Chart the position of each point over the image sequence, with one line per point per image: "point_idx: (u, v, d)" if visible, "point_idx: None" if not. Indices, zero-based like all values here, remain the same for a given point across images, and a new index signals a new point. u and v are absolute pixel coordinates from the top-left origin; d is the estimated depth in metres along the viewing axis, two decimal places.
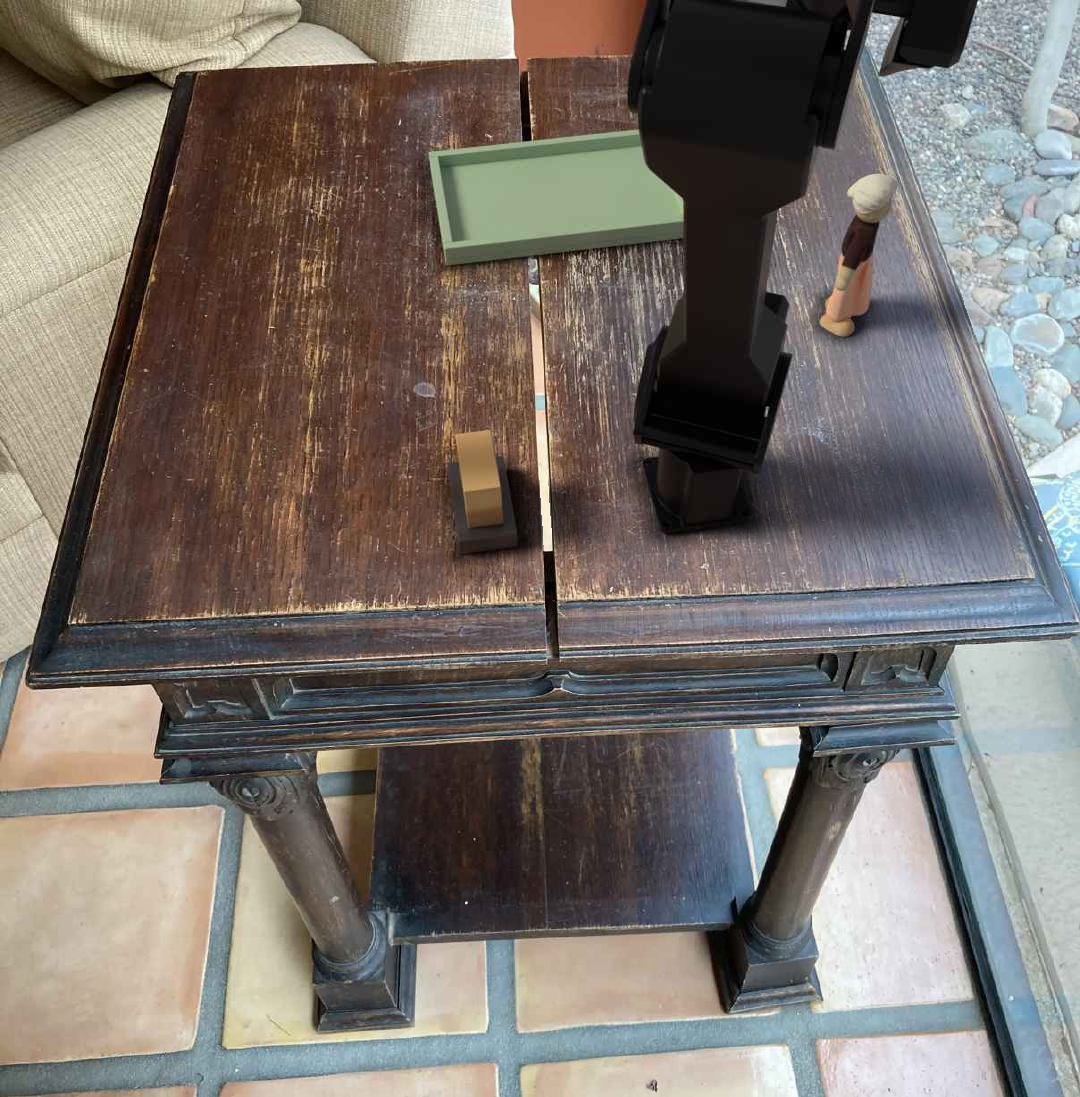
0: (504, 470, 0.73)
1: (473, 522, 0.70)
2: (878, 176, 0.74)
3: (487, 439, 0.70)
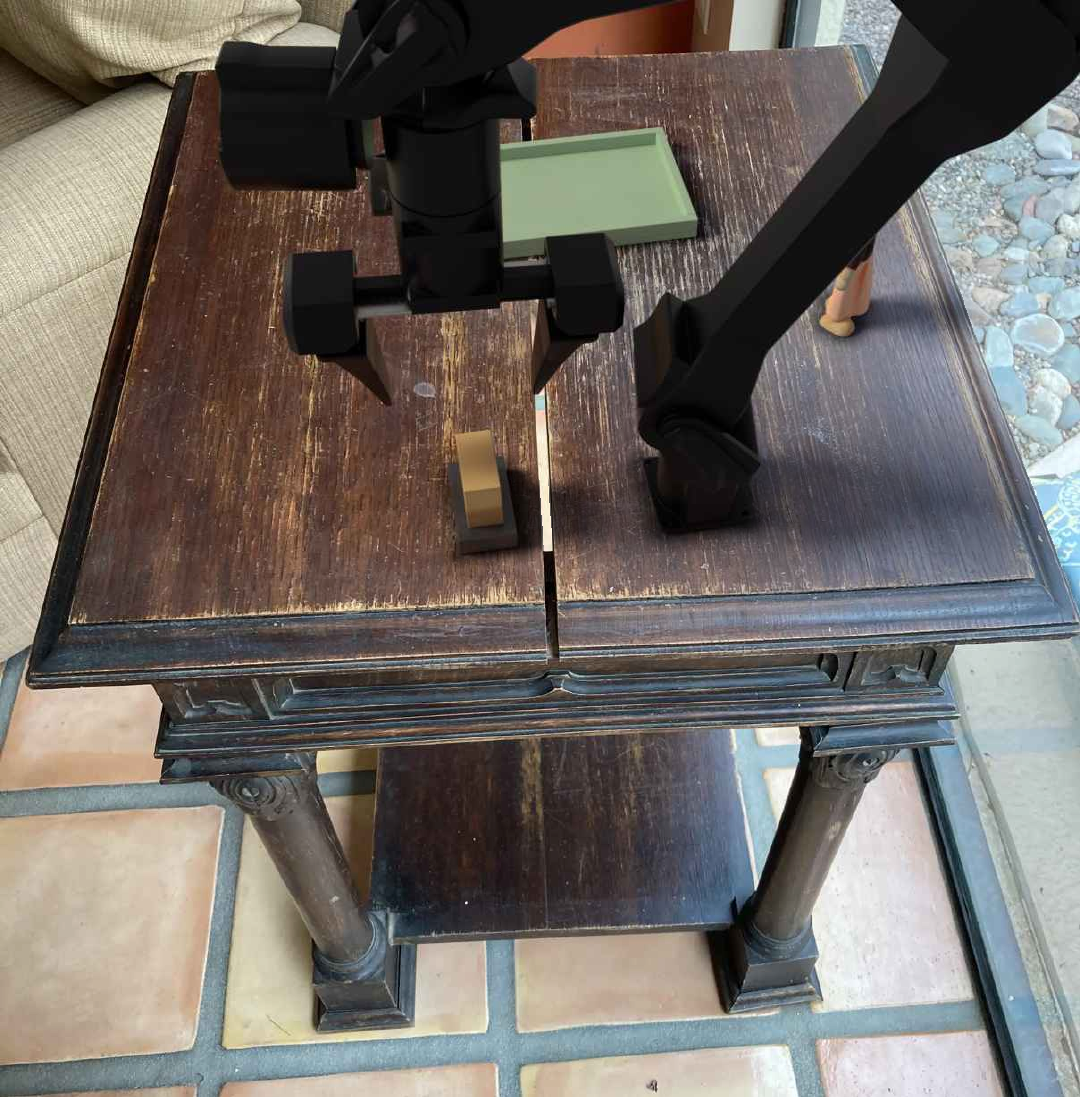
0: (504, 470, 0.73)
1: (473, 522, 0.70)
2: None
3: (487, 439, 0.70)
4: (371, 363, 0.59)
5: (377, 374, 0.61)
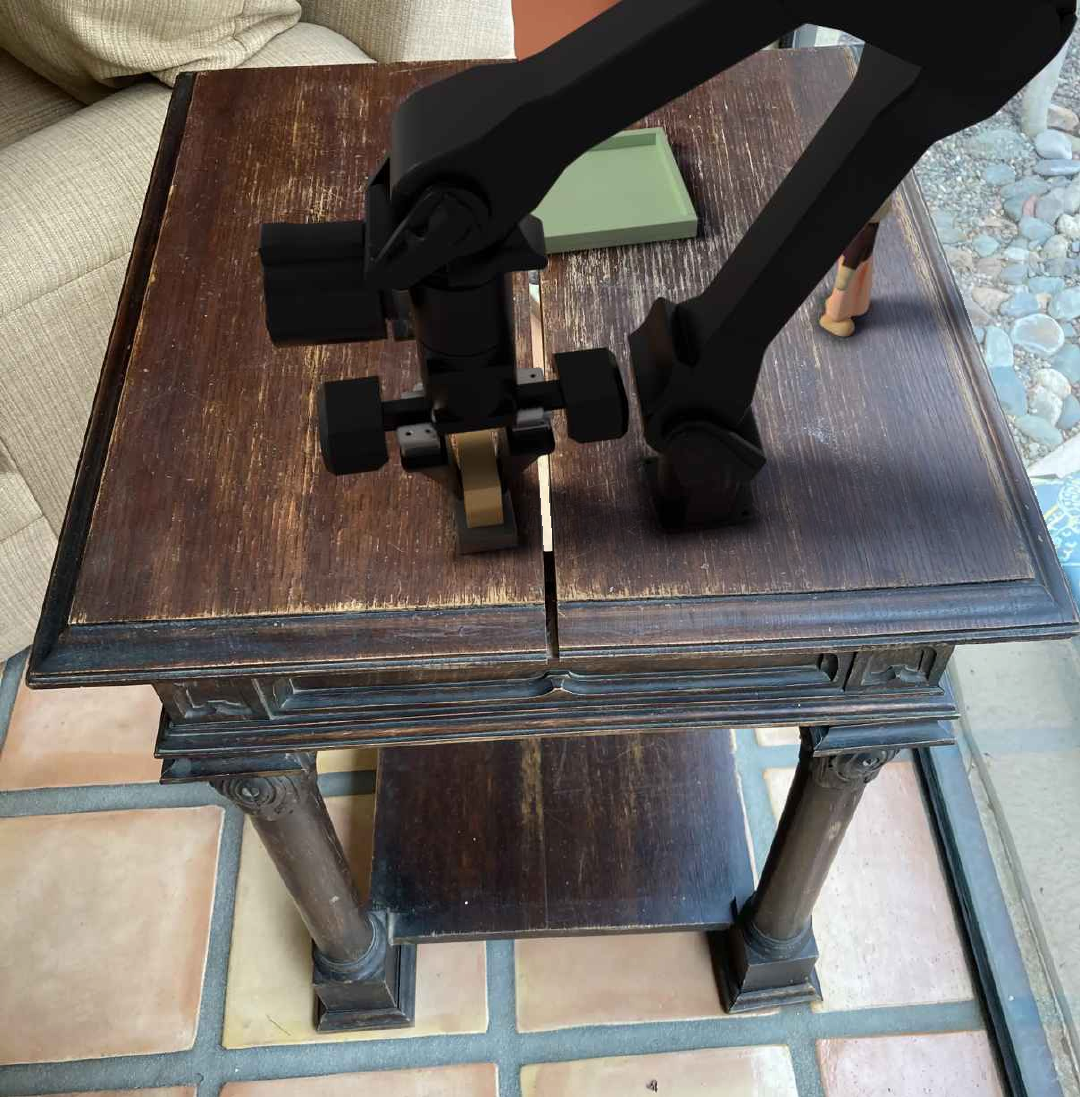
0: None
1: (473, 522, 0.70)
2: None
3: (487, 439, 0.70)
4: (451, 470, 0.65)
5: (455, 477, 0.67)
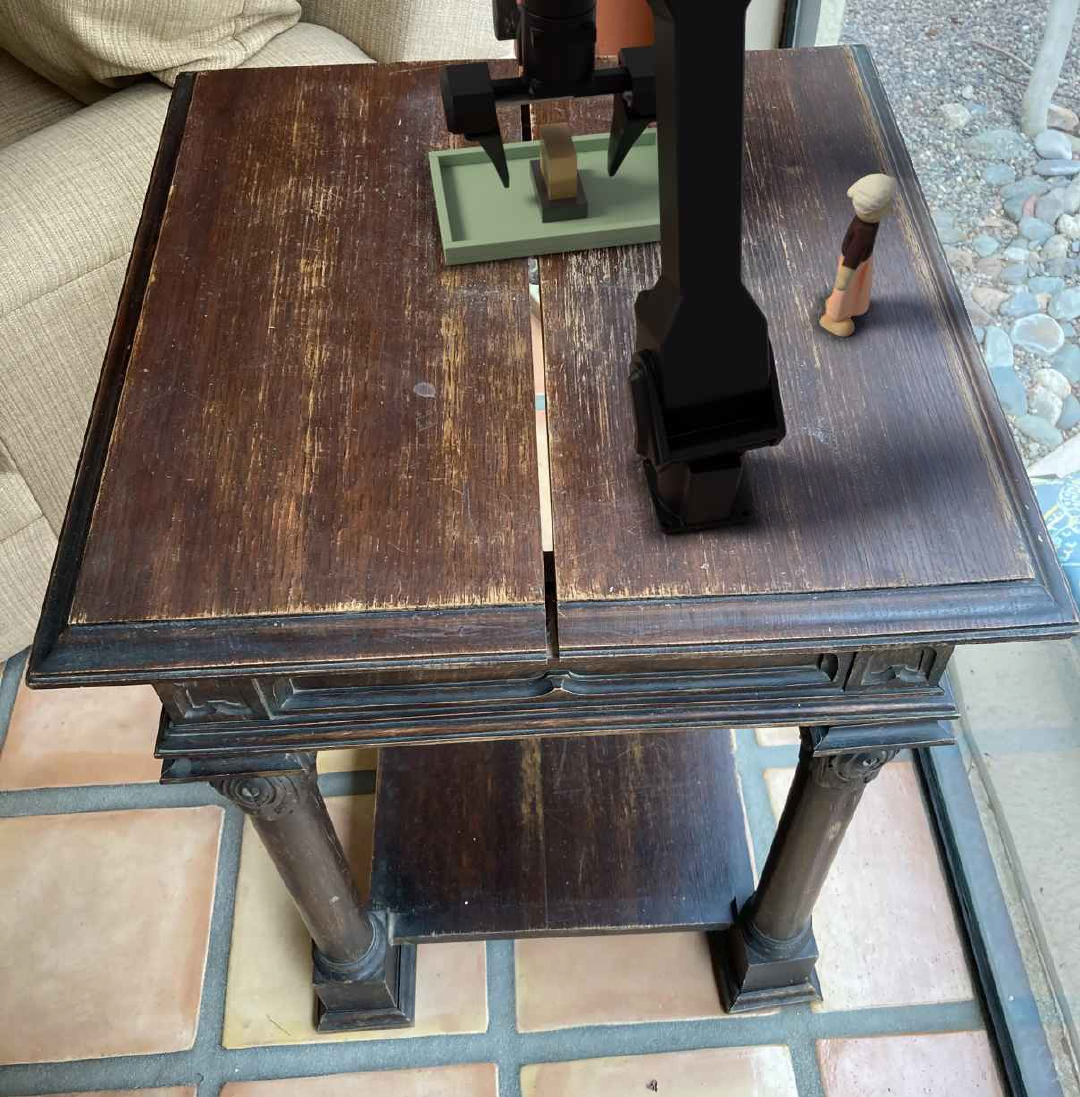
0: None
1: (553, 194, 0.89)
2: (878, 176, 0.74)
3: (564, 127, 0.89)
4: (502, 143, 0.85)
5: (504, 154, 0.86)
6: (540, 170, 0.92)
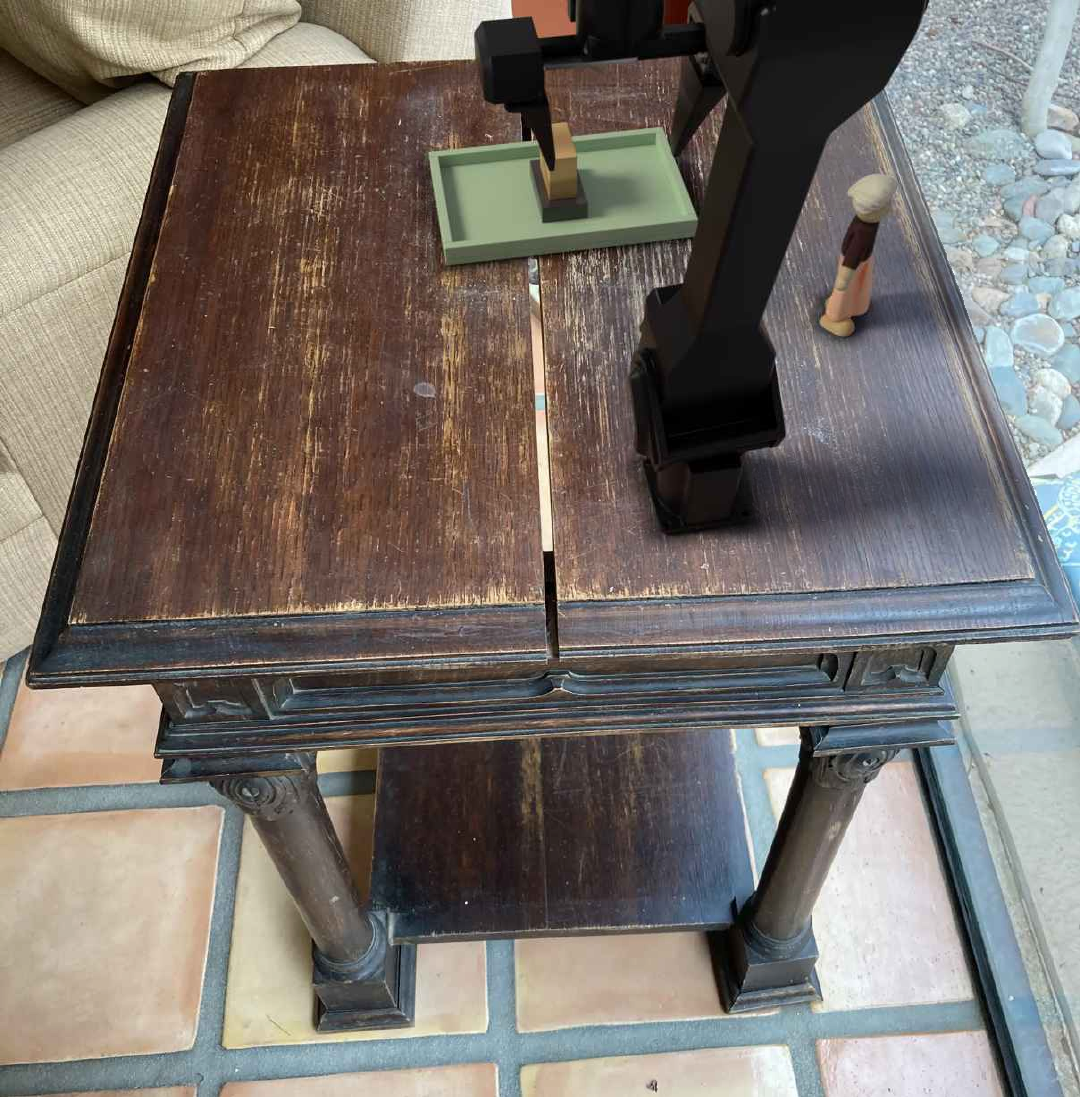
0: None
1: (553, 194, 0.89)
2: (878, 176, 0.74)
3: (564, 127, 0.89)
4: (550, 115, 0.70)
5: (551, 129, 0.71)
6: (540, 170, 0.92)
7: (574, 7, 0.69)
